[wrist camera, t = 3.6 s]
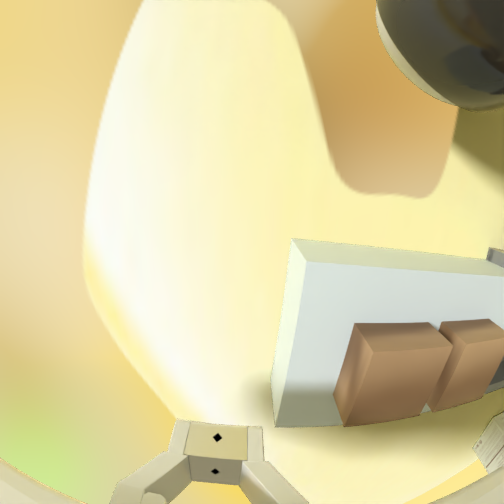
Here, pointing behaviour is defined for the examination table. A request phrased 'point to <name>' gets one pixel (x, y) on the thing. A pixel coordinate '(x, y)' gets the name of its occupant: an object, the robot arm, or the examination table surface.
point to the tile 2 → (467, 362)
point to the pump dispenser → (448, 48)
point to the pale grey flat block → (363, 313)
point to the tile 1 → (389, 371)
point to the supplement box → (492, 444)
